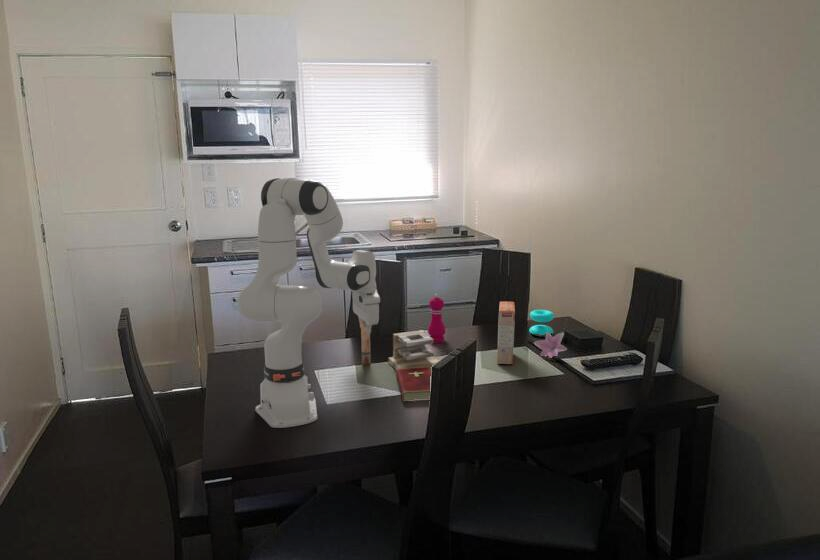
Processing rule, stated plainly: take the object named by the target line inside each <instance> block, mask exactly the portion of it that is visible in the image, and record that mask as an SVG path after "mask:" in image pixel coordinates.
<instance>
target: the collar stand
mask: <svg viewBox="0 0 820 560" xmlns="http://www.w3.org/2000/svg"><path fill="white" fill-rule="evenodd" d="M429 336H430V335H429V334H427V333H426V331H425V330H423V329H419V330H413V331H406V332H405V331H404V332H397V333H392V348H393V349H392V350H393V352H392V354H393V355H392V356H391V357H388V362H387V363H389V365H390V366H392V368H394V370H396V371H397V369H401V368H420V367H432V365H434V364H435V363H436V362H438V361H440V360H439V359H438V358H436V357H435V356H434V355H435V354H434V353H435V352H433V350H431V349H430V348H428V347H427V346H426V345H432V344H435V343H434V339H432V338H431V337H429Z"/></svg>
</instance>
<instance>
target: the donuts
mask: <svg viewBox="0 0 820 560" xmlns="http://www.w3.org/2000/svg"><path fill="white" fill-rule="evenodd" d="M554 317H555V314H554V312H553V311H551V310H547V309H535V310H531V311H530V312H529V318H530V319H531V320H533V321H534V322H538V323H548V322H551V321H552V320H554ZM529 332H530V333H532V334H539V335H545V334H546V333H547V332H549V333H550V334H551V333H553V334H554V330H553V328H552V327H551V326H549V325H545V324H534V325H532V326H530V328H529ZM530 333H529V334H530Z"/></svg>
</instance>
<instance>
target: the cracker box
mask: <svg viewBox="0 0 820 560" xmlns="http://www.w3.org/2000/svg"><path fill="white" fill-rule="evenodd" d="M515 306H516V305H515V302H514V301H499V307H498V308H499V309H498V323H497V327H498V328H497V329H498V330H497V357H496V358H497V361H496V362H497V365H498V364H512V365H514V363H513V362H514V361H513V360H514V359H513V358H514V344H515V343H514V342H515V322H516V321H515V319H516V317H515V316H516V309H515Z"/></svg>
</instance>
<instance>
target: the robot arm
mask: <svg viewBox="0 0 820 560" xmlns="http://www.w3.org/2000/svg"><path fill="white" fill-rule="evenodd" d="M260 201H261V206H262V207H261V208H260V211H259V217H258V225H257V242H258V262H257V263H258V265H257V270H256V273H255V275H254V277H253V279H252V280H251V281H250V283H249V284H248V285H246V286H245V287H244V288H242V290H241V291H240V293H239V295H238V298H237V308H238V311H239V312H240V315H241V316H242V317H243V318H246V319H249V320H253V321H258V322H259V321H260V322H280V324H281V326H280V329H278V330H276V331H274V332H272V333H270V334H269V335H268V336H267V337H266V338H265V340H264V343H263V344H264V345H263V346H264V350H263V351H264V360H265V361H264V362H265V363H264V365H263V373H264V379H263V381H261V383H260V384H259V385H260V387H259V391H260V404H257V405H256V406H255V412H256V414H258V415H259V417H261V418H262V419H263V421H265V422H266V423H267V424H268V426H269V427H271V428H275V429H277V428H278V429H281V428H283V429H284V428H291V427H292V428H293V427H298V426H302V425H307V424H311V423H313V422H315V421H317V420H318V419H319V417H318V412H317V411H318V409H317V401H316V398H315V392H314V391H309V389H311V388H312V386H311V385H312V384H311V383H308V376H307V375H305V366H304V363H303V361H302V341H303V335H304V333H305V331H306V330H307V328H308V327H309V325H310V324H311V323H313V321H315V320H317V318H318V317H319V316H320V315H321V312H322V310H323V298H322V295H321V294H320V291H318V290H317V289H316V288H313V287H308V286H305V285H282V284H280V278H281V277H282V276H284V275H286V274H287V273H289V272H291V271H292V270H294V269H295V267H296V266H297V262H298V257H297V256H298V254H297V253H298V252H297V236H296V225H295V219H296V217H297V216H304V217H305V220H306V222H307V225H308V228H307V231H306V239H307V243H308V247H309V251H310V255H311V258H312V261H313V264H314V271H315V279H316V281H317V283H318V285H319V286H320V287H321V288H323V289H336V290H344V291H350V292H352V293H351V294H352V297H351V298H352V311H353V312H352V313H354V314H355V315H357V316H358V321H359V328H361V319H362V320H364V321H365V322H366V328H365V332H366V333H370V334H371V333H372V327H373V326H375V325H376V326H377V325H378V324H379V320H380V305H379V304H380V303H381V297H380V295H379V293H378V289H377V282H376V276H377V263H376V262H377V261H376V258H375V254H374V252H373V251H370V250H362V249H356V250H353V251H352V256H351V258H350V259H349V260H347V261H346V262H344V261H337V260H334V259H332V258H331V257H330V255H329V251H328V246H327V242H329V241H332V240H333V239H335V238H336V237H337V236H338V235H339V234H340V232H341V231H342V228H343V225H344V221H343V217H342V213H341V211H340V208H339V206H338V204H337V202H336V199H335V198H334V196H333V195H332V193H331V192H330V190H329V188H328V187H327V186H326V185H325V184H324V183H322V182H320V181H318V180H315V179H304V178H298V177H297V178H296V177H285V178H280V177H279V178H273V179H269V180H268V181H266V182H265V183H264V184H263V186H262V189H261V193H260Z"/></svg>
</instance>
